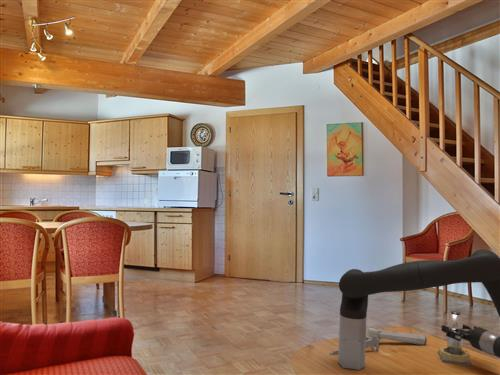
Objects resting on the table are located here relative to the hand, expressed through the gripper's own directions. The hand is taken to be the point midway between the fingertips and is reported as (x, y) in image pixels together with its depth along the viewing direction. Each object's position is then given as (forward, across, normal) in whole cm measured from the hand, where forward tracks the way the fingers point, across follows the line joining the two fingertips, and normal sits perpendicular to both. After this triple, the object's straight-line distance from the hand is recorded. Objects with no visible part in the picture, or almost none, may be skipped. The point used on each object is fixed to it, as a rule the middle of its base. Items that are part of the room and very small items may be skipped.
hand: (450, 327), depth 156 cm
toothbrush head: (+17, +12, +12) cm, 24 cm away
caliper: (+13, +34, +12) cm, 38 cm away
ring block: (-2, 0, +11) cm, 11 cm away
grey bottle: (-2, 0, +10) cm, 11 cm away
